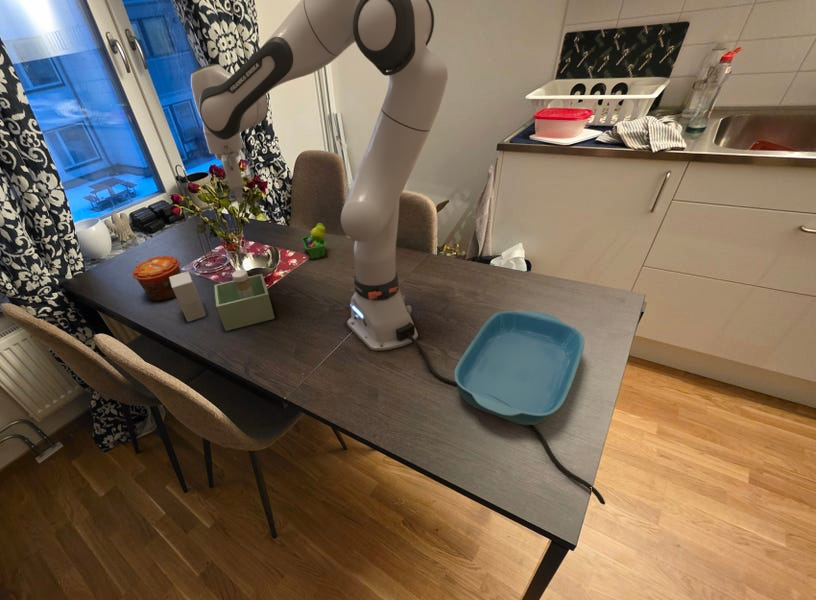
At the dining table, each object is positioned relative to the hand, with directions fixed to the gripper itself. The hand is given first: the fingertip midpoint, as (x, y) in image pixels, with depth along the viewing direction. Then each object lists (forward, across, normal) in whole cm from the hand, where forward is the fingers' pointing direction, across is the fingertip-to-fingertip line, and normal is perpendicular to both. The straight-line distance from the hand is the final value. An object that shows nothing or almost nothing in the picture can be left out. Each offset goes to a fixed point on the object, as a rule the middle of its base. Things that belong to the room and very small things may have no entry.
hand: (239, 196), depth 110 cm
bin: (+33, -8, +7) cm, 35 cm away
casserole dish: (+33, -64, -51) cm, 88 cm away
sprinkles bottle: (+32, -8, +6) cm, 34 cm away
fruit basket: (+33, +23, -24) cm, 47 cm away
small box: (+33, 0, +24) cm, 41 cm away
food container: (+33, +20, +34) cm, 52 cm away
